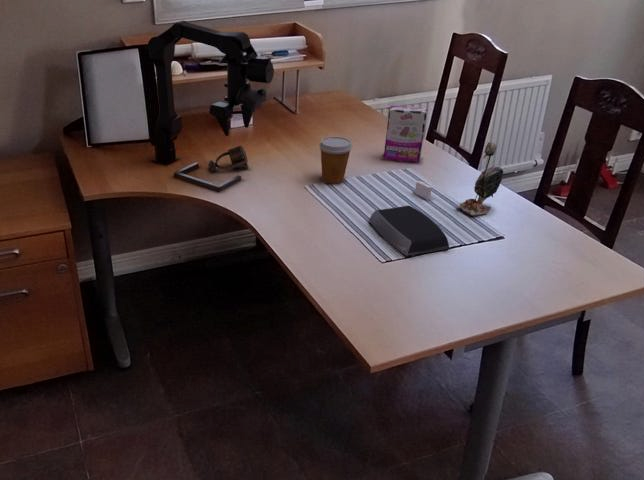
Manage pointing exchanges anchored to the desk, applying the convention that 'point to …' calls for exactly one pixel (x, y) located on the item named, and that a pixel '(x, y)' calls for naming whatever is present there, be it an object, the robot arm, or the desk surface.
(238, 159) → the mechanical counter
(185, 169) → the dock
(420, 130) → the candy bar box
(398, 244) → the hard drive
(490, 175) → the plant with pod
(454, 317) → the desk surface
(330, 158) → the disposable coffee cup
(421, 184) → the eraser
